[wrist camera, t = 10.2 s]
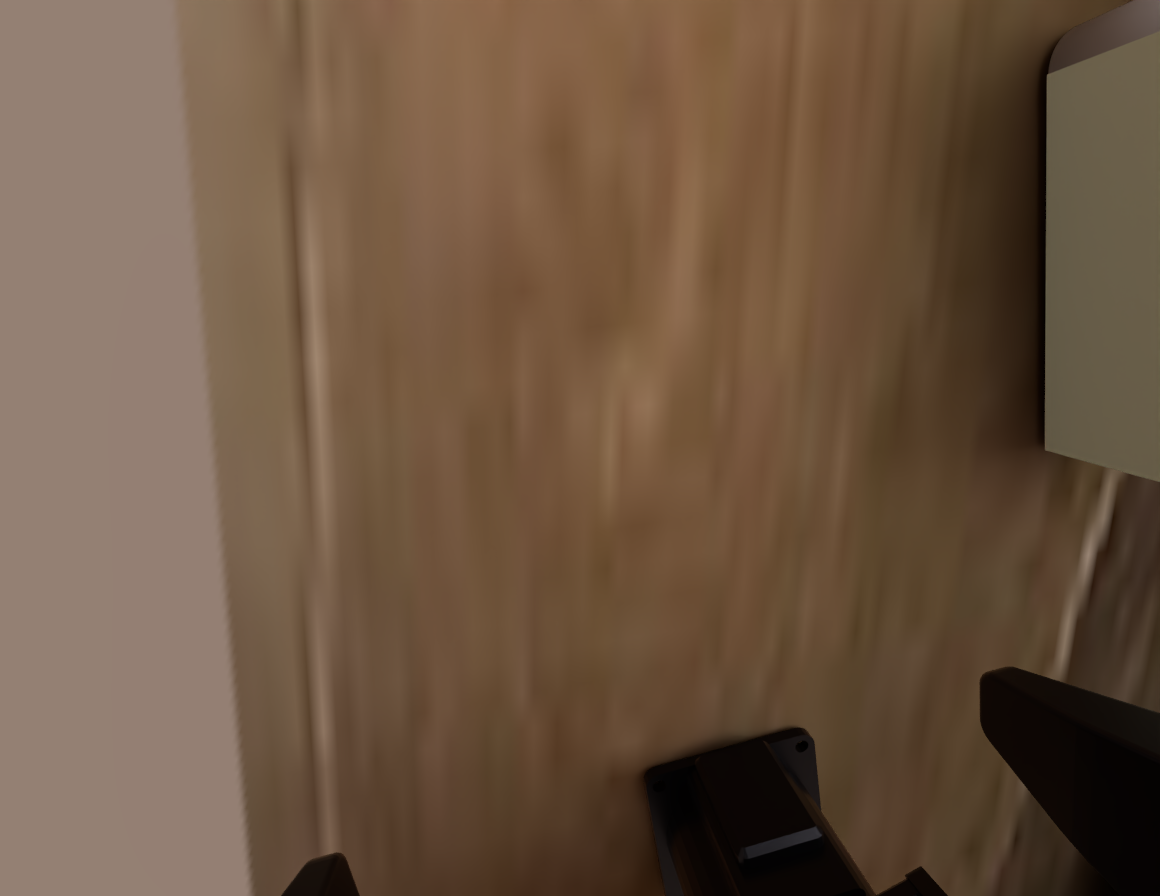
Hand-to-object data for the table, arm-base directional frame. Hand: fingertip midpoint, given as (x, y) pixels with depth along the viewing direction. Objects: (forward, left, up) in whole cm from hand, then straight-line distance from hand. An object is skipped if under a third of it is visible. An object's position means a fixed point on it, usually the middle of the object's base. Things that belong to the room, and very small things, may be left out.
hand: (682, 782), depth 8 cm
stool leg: (+5, -18, -12) cm, 22 cm away
